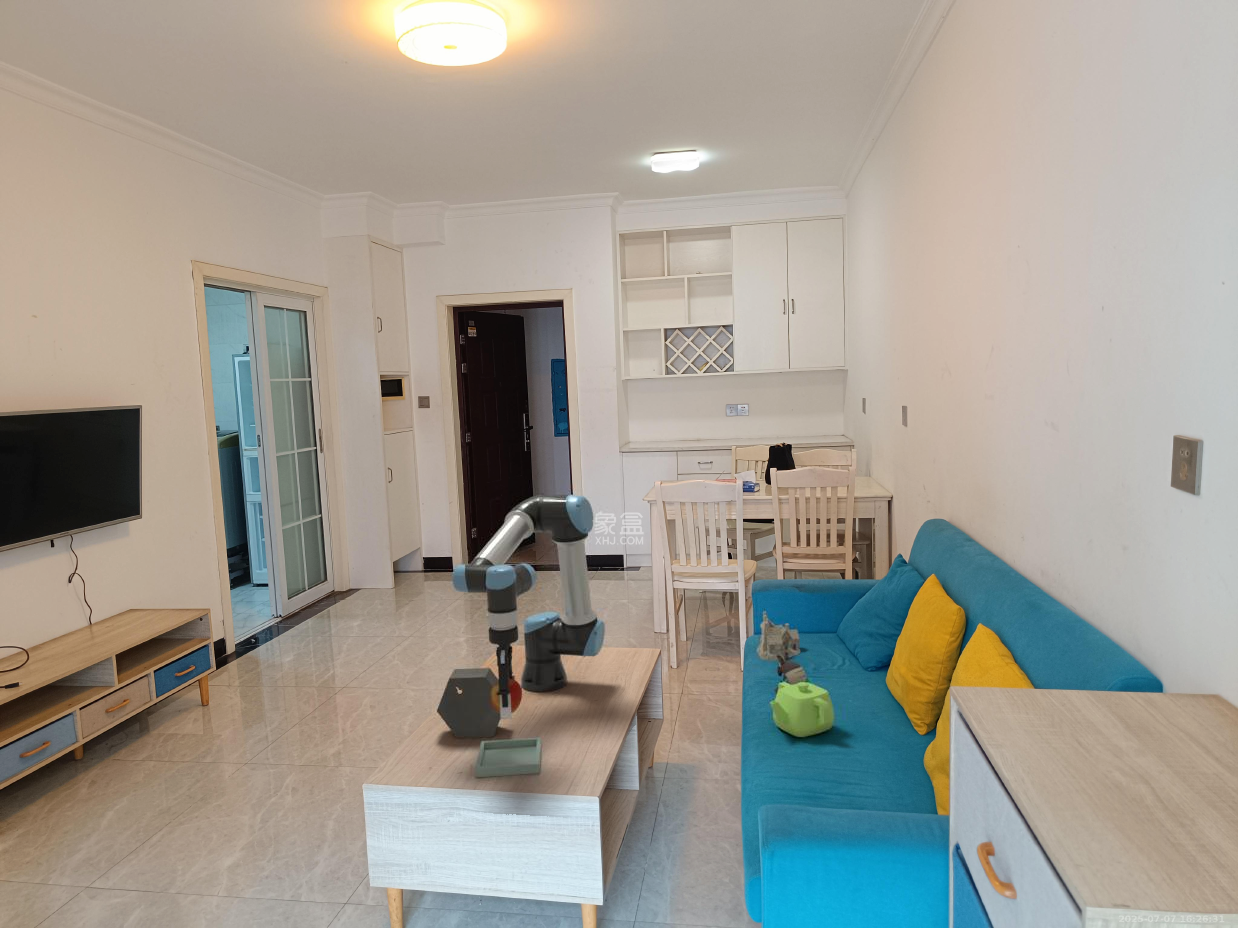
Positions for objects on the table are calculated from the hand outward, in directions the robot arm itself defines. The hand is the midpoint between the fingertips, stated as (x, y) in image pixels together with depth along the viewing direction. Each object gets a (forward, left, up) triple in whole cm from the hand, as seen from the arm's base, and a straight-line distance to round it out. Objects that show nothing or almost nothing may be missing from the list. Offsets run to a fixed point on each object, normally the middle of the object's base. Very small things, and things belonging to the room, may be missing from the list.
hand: (507, 711), depth 210 cm
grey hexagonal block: (-20, -11, -14) cm, 27 cm away
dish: (0, 0, -13) cm, 13 cm away
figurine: (-35, +86, -14) cm, 94 cm away
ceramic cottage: (-73, +92, -14) cm, 118 cm away
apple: (0, 0, 0) cm, 1 cm away
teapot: (-7, +79, -14) cm, 80 cm away
